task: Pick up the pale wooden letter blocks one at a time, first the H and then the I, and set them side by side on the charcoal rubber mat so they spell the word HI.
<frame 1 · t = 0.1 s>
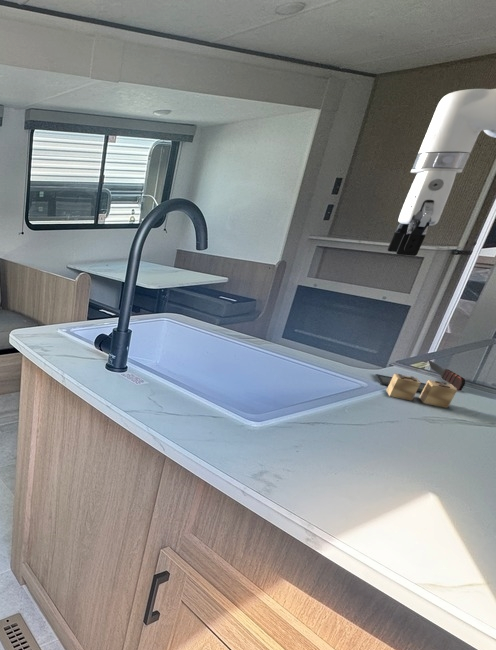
hand: (400, 253, 92), 31 cm above the countertop, tool pointing down, fingers open, 9 cm apart
tile H: (398, 395, 101), on the countertop
word mat: (406, 385, 107), on the countertop
tile I: (432, 402, 98), on the countertop
knife: (440, 379, 112), on the countertop
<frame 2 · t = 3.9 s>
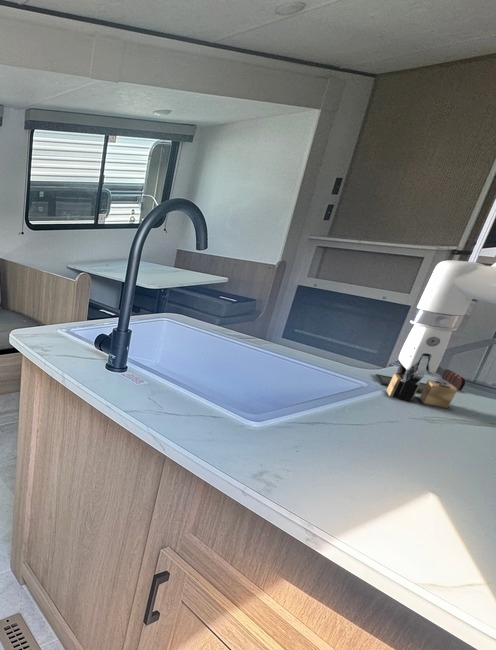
hand: (399, 394, 100), 0 cm above the countertop, tool pointing down, fingers closed on tile H, 4 cm apart
tile H: (398, 395, 101), on the countertop, touching gripper
everything else where it was.
when the fingers open (1 cm above the countertop, at t = 9.7 s): tile H stays where it is, resting on word mat.
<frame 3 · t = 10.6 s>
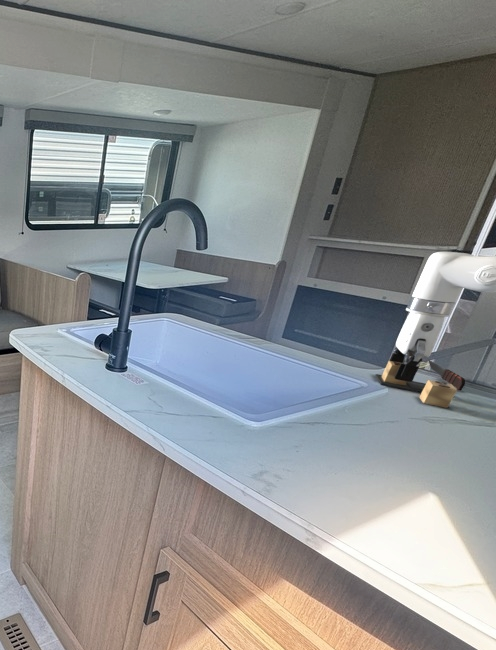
hand: (398, 374, 107), 2 cm above the countertop, tool pointing down, fingers open, 9 cm apart
tile H: (392, 381, 108), resting on word mat
everything else where it was.
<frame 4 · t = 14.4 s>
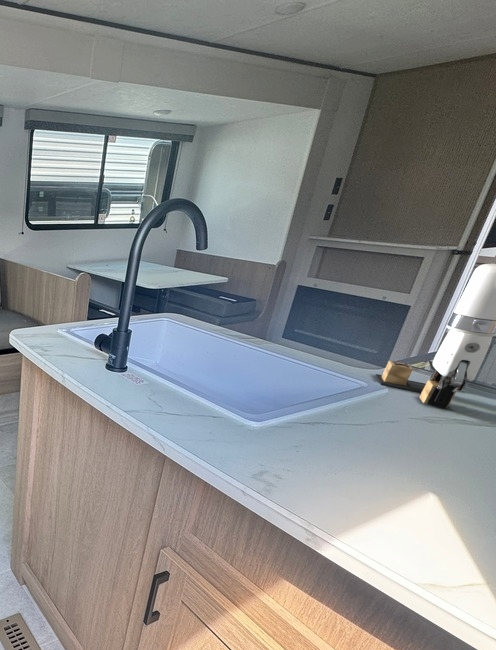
hand: (433, 401, 97), 0 cm above the countertop, tool pointing down, fingers closed on tile I, 4 cm apart
tile I: (432, 402, 98), on the countertop, touching gripper
everything else where it was.
when the fingers open (1 cm above the countertop, at t = 20.3 s): tile I stays where it is, resting on word mat.
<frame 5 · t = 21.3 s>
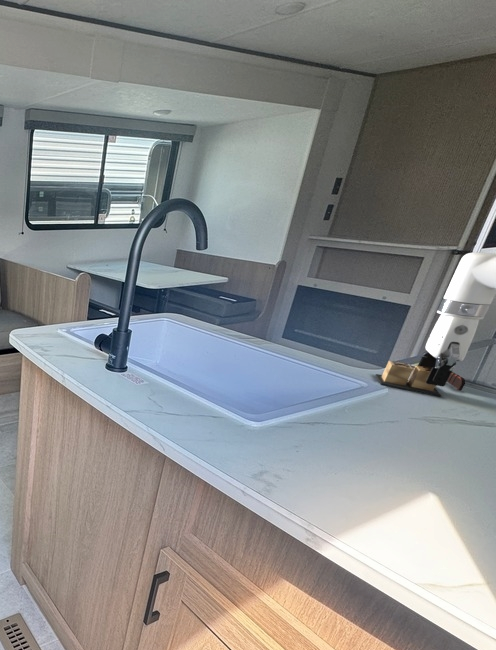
hand: (428, 378, 104), 3 cm above the countertop, tool pointing down, fingers open, 9 cm apart
tile I: (420, 386, 105), resting on word mat
everything else where it was.
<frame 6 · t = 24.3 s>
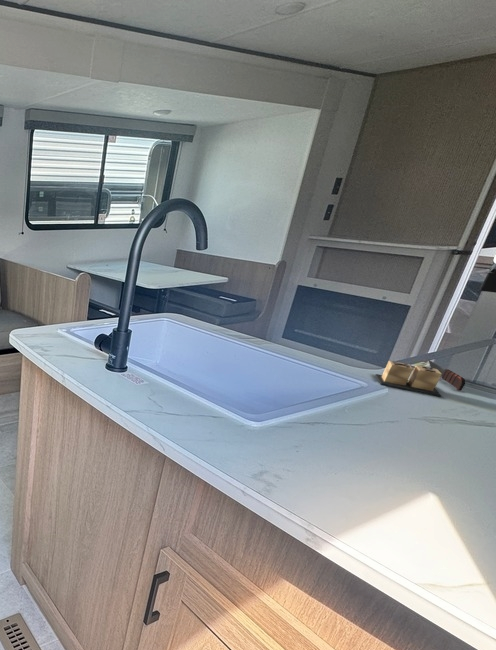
nothing on the countertop moved.
at the end: tile H 0.1 cm from the target spot, resting on word mat; tile I 0.2 cm from the target spot, resting on word mat; tile I tilted 0° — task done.
